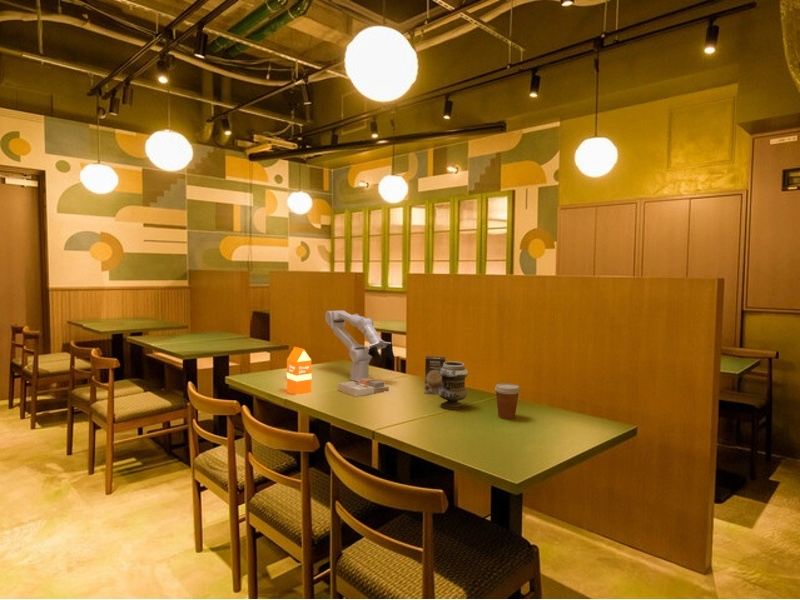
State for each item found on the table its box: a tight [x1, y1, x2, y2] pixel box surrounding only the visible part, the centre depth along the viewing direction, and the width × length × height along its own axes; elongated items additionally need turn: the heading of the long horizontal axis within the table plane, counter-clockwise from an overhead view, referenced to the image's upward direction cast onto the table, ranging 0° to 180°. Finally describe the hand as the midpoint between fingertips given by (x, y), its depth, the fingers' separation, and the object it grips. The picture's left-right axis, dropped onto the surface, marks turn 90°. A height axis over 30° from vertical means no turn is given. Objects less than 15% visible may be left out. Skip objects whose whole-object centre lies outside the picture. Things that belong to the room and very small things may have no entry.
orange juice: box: [286, 346, 313, 395], centre depth 231 cm, size 8×9×20 cm
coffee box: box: [423, 355, 446, 395], centre depth 234 cm, size 9×6×16 cm
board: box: [355, 382, 390, 394], centre depth 238 cm, size 15×8×2 cm, turn 40°
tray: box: [337, 380, 375, 398], centre depth 233 cm, size 15×10×4 cm, turn 40°
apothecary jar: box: [437, 360, 469, 410], centre depth 211 cm, size 12×12×18 cm
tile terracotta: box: [360, 377, 376, 385], centre depth 241 cm, size 5×5×2 cm
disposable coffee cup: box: [494, 382, 521, 420], centre depth 198 cm, size 10×10×12 cm
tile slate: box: [369, 379, 385, 388], centre depth 236 cm, size 5×5×2 cm
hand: (387, 360), depth 241 cm, fingers open, 7 cm apart
